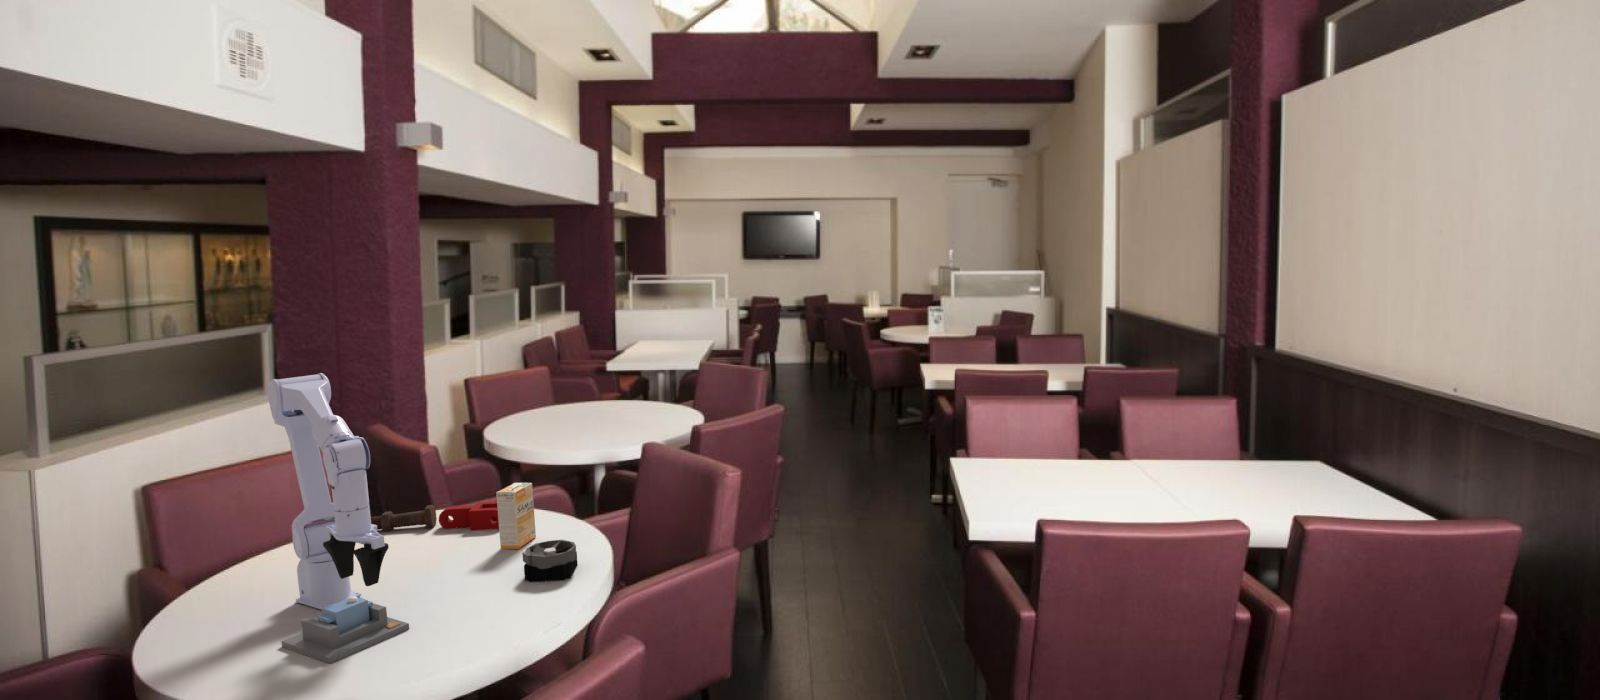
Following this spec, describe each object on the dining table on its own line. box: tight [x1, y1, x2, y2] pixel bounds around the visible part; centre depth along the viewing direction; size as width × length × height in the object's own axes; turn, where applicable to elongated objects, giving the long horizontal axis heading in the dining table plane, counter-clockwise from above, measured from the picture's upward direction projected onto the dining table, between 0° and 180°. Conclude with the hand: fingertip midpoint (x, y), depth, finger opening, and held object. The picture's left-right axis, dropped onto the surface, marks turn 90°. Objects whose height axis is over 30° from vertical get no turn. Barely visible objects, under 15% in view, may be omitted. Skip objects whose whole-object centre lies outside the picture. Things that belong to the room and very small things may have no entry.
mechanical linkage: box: [438, 500, 499, 532], centre depth 224 cm, size 16×7×5 cm, turn 93°
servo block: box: [317, 596, 373, 633], centre depth 163 cm, size 4×8×6 cm, turn 149°
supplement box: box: [495, 482, 537, 550], centre depth 210 cm, size 8×5×13 cm, turn 168°
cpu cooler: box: [522, 539, 578, 583], centre depth 191 cm, size 10×6×10 cm
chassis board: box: [280, 603, 410, 664], centre depth 163 cm, size 14×15×4 cm
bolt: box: [371, 504, 437, 533], centre depth 224 cm, size 6×5×15 cm
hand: (359, 580), depth 167 cm, fingers open, 7 cm apart
